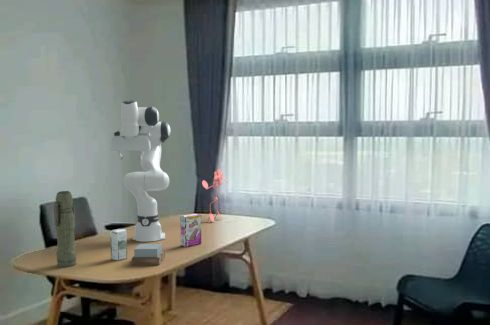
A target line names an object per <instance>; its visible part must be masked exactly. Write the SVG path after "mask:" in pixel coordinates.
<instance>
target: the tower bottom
mask: <svg viewBox="0 0 490 325" xmlns="http://www.w3.org/2000/svg"><path fill="white" fill-rule="evenodd" d="M165 259H166V252H165V251H164V250H162V253H161V254H160V255H159V256H158V257H134V255H133V256H132V257H131V265H132V266H160V265H161V264H162V262H163V261H164V260H165Z"/></svg>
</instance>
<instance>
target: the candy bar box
mask: <svg viewBox="0 0 490 325" xmlns="http://www.w3.org/2000/svg"><path fill="white" fill-rule="evenodd" d="M179 220H180V222H179V224H180V226H179V227H180V246H181V247H185V248H188V247H193V246H197V245H201V244H202V214H199V213H192V214H185V215H180V219H179Z"/></svg>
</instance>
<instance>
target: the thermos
mask: <svg viewBox="0 0 490 325" xmlns="http://www.w3.org/2000/svg"><path fill="white" fill-rule="evenodd" d="M75 206H76V205H75V201H74V200H73V195H72V193H71V191H70V190H65V191H64V190H61V191H58V192H57V193H56V196H55V203H54V206H53V213H54V225H55V231H56V242H57V245H56V246H57V247H56V248H57V250H56V262H57V267H58V268H70V267H74V266H75V267H76V265H77V259H78V258H77V249H76V246H75V245H76V244H75V242H76V240H75V239H76V238H75V229H76V222H75V221H76V209H75V208H76V207H75Z"/></svg>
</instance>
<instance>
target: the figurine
mask: <svg viewBox="0 0 490 325" xmlns="http://www.w3.org/2000/svg"><path fill="white" fill-rule="evenodd" d="M223 174H224V173H223V172H222V171H221V169H220V168H219V169H217V170H216V171H214V173H213V175H214V177H213V182H212V185H211V186H209V184H208V182H207V181H206V180H205V179H203V180H202V181H201V183H202V186H203V188H205V190H208V189H210V188H213V190H214V191H215V192H217V188H220V186H221V185H222V184H223V181H222V180H224V181H225V182H226V183H229V181H228V180H227V179H226V178H225V177H224V176H223ZM218 201H219V199H218V196H217V193H215V197H214V198H213V201H212V202H211V203H210V204H209V205H211V204H213V203H214V202H216V208H217V210H216V215H215V217H214V215H213V213H212V210H211V209H212V208H211V206H209V211H210V212H209V214H208V219H207V221H206V222H209V220H210V222H212V223H215V220H216V218H217V216H219V217H220V219H221V220H223V217H222V216H221V214H220V213H219V205H218ZM228 223H229V221H228V222H227V221H226V224H228Z"/></svg>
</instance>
